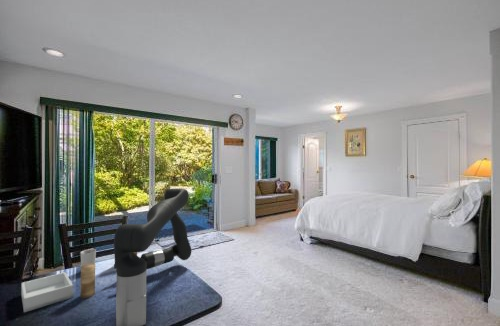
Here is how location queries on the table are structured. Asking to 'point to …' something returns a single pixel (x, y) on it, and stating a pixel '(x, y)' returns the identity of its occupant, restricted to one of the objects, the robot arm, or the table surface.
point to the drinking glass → (88, 257)
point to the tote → (46, 291)
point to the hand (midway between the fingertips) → (117, 269)
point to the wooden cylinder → (87, 280)
